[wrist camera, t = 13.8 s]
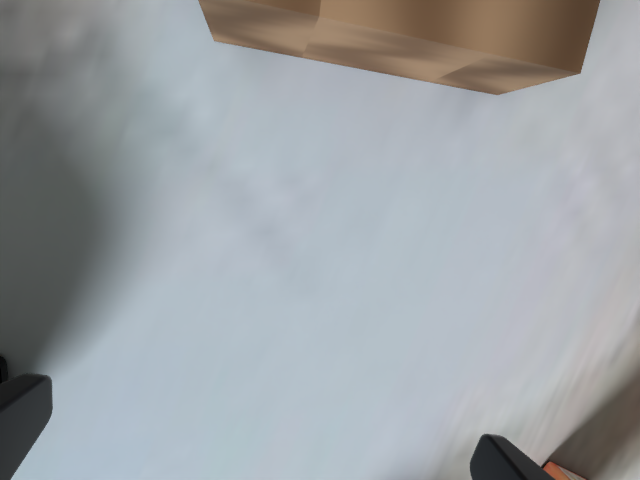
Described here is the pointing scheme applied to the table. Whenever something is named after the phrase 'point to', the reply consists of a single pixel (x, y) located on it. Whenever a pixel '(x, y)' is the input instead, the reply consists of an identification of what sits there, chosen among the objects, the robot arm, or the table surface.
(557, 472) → the cracker box
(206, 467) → the table surface
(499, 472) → the robot arm
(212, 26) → the socket board
